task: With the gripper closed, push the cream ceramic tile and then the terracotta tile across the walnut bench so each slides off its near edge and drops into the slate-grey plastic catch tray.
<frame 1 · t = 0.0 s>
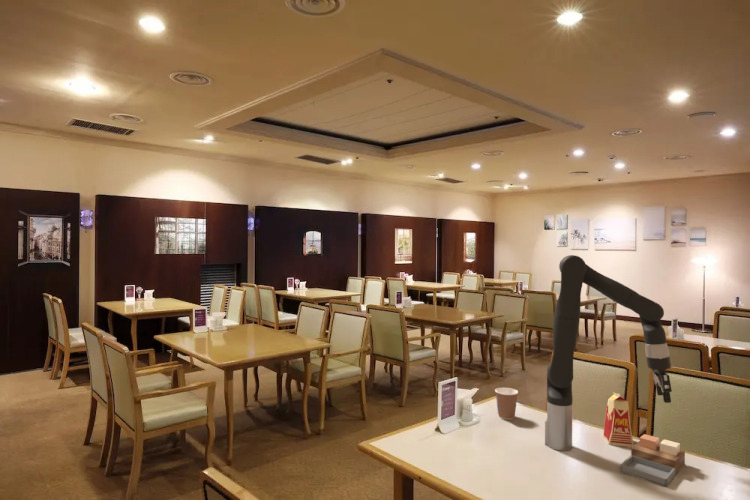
hand: (664, 398, 172), 22 cm above the table, tool pointing down, fingers open, 8 cm apart
coffee cup: (506, 417, 214), on the table
tile cream: (669, 451, 167), point 5 cm above the table, touching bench
milk carton: (617, 441, 188), on the table
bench: (657, 463, 169), on the table
catch tray: (647, 473, 161), on the table
tile terracotta: (649, 445, 172), point 5 cm above the table, touching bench
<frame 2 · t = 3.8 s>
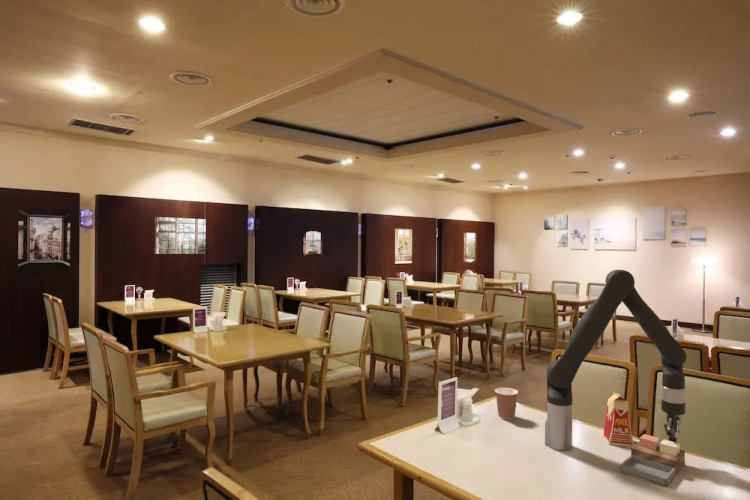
hand: (672, 446, 170), 6 cm above the table, tool pointing down, fingers closed
tile cream: (669, 451, 167), point 5 cm above the table, touching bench, gripper
everything else where it was.
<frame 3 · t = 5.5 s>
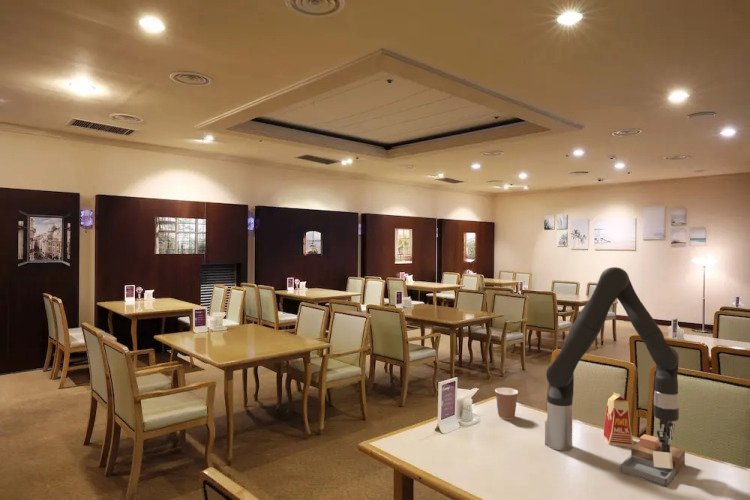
hand: (665, 453, 164), 6 cm above the table, tool pointing down, fingers closed
tile cream: (664, 460, 161), point 4 cm above the table, tilted 67°, touching catch tray
everything else where it was.
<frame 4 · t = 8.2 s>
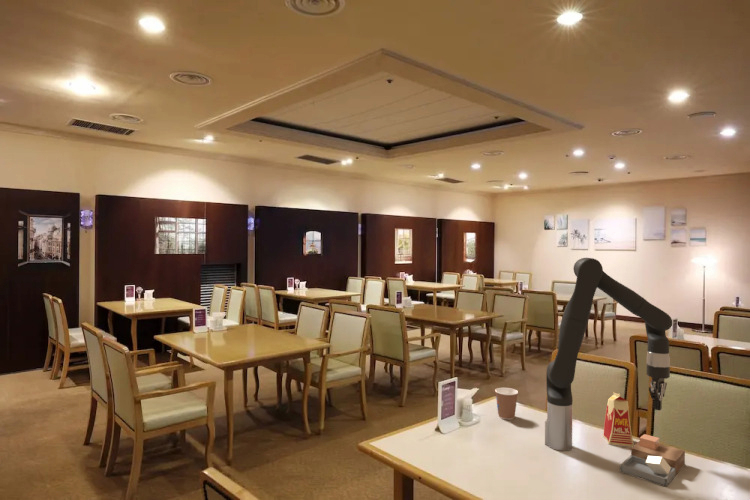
hand: (657, 409, 176), 17 cm above the table, tool pointing down, fingers closed
tile cream: (659, 461, 159), point 5 cm above the table, tilted 125°, touching catch tray
everything else where it was.
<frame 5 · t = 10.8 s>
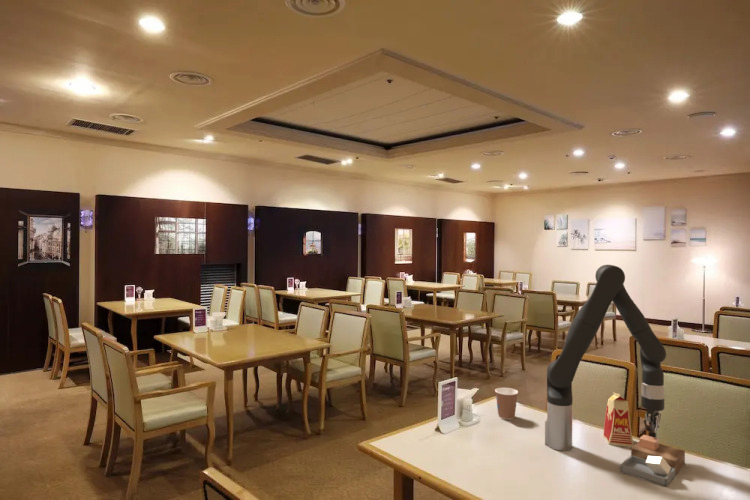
hand: (652, 441, 174), 6 cm above the table, tool pointing down, fingers closed
tile terracotta: (649, 446, 171), point 5 cm above the table, touching gripper
everything else where it was.
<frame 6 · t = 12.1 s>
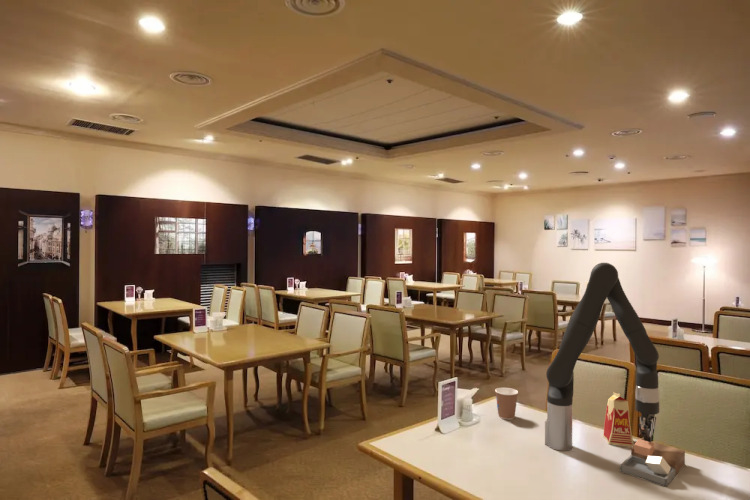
hand: (647, 445, 170), 6 cm above the table, tool pointing down, fingers closed
tile terracotta: (644, 451, 167), point 5 cm above the table, tilted 7°, touching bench, gripper
everything else where it was.
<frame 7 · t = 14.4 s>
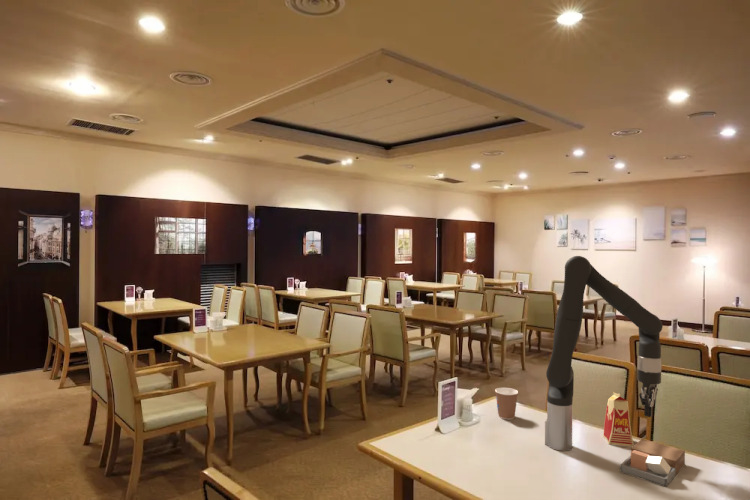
hand: (648, 416, 170), 17 cm above the table, tool pointing down, fingers closed
tile terracotta: (641, 459, 165), point 3 cm above the table, tilted 90°, touching catch tray
everything else where it was.
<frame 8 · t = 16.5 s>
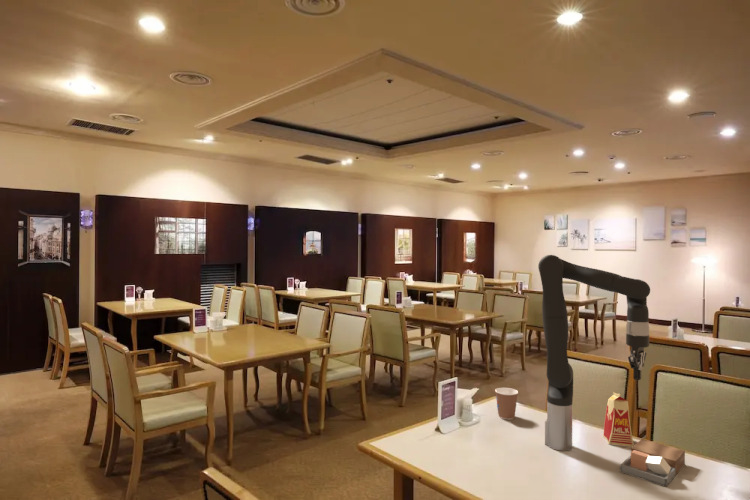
hand: (637, 379, 174), 29 cm above the table, tool pointing down, fingers closed
nothing on the table moved.
at the end: tile cream inside the target area (4.0 cm from its centre), point 5.0 cm above the table; tile terracotta inside the target area (5.3 cm from its centre), point 3.1 cm above the table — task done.
